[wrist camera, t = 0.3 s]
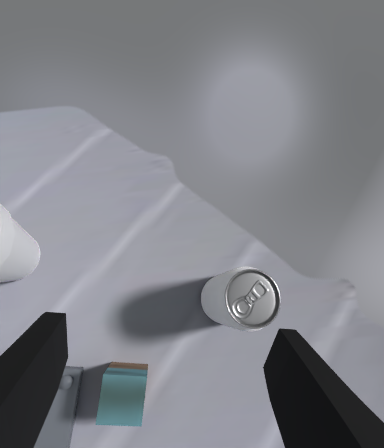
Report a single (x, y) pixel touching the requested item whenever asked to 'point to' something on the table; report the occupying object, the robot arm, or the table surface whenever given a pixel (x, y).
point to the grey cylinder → (241, 299)
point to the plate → (61, 412)
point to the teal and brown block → (122, 394)
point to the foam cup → (16, 249)
